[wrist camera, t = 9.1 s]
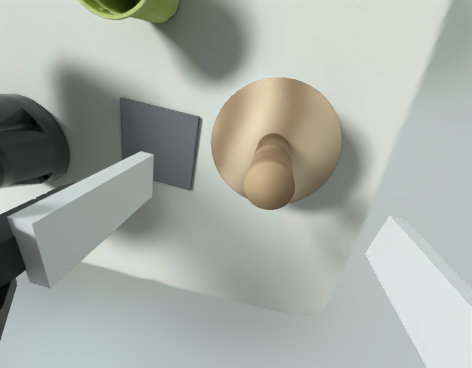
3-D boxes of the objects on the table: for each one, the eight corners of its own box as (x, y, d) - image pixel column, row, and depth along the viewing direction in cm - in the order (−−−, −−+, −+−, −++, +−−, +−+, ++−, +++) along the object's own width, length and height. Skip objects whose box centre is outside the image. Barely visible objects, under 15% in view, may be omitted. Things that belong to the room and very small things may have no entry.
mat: (125, 170, 36) (123, 171, 36) (122, 97, 31) (120, 97, 31) (190, 189, 35) (189, 190, 35) (199, 116, 30) (198, 117, 30)
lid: (207, 182, 28) (165, 238, 18) (225, 64, 22) (179, 44, 12) (311, 211, 27) (331, 287, 17) (362, 95, 21) (443, 103, 11)
